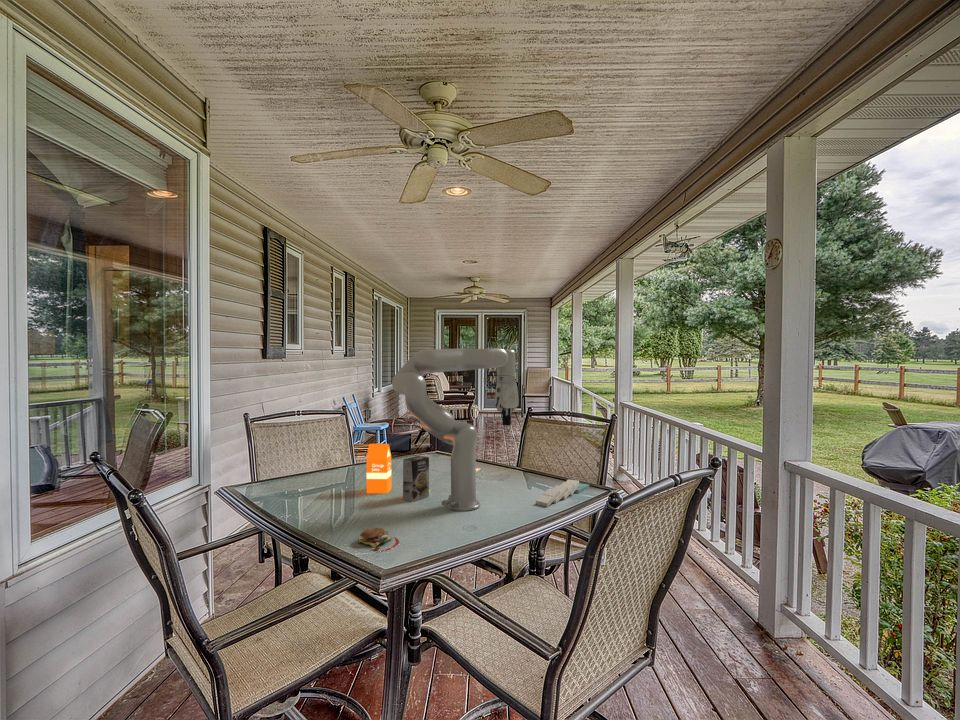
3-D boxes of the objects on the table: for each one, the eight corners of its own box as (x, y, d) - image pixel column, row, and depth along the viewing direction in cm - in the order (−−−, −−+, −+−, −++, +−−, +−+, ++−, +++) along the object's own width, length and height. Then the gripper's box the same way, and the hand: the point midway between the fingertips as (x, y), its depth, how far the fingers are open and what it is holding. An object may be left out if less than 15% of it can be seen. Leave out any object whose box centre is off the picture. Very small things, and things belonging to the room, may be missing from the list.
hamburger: (341, 548, 133) (340, 528, 133) (375, 533, 145) (375, 514, 145) (375, 558, 126) (375, 537, 126) (408, 541, 138) (408, 521, 138)
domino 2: (555, 499, 173) (567, 486, 180) (544, 497, 176) (556, 484, 184) (556, 503, 173) (568, 490, 181) (545, 500, 176) (557, 488, 184)
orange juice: (371, 488, 197) (371, 442, 197) (391, 488, 196) (391, 442, 197) (366, 493, 189) (366, 445, 189) (387, 493, 189) (387, 445, 189)
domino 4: (571, 491, 183) (578, 480, 191) (559, 490, 185) (567, 479, 193) (571, 495, 183) (579, 484, 191) (560, 494, 185) (568, 482, 194)
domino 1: (547, 503, 169) (559, 490, 176) (535, 500, 172) (548, 488, 179) (547, 507, 169) (560, 494, 176) (536, 504, 172) (549, 491, 179)
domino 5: (578, 490, 186) (589, 484, 194) (567, 488, 189) (579, 482, 197) (578, 494, 186) (589, 488, 194) (568, 491, 189) (579, 486, 197)
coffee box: (413, 502, 176) (413, 460, 177) (402, 499, 180) (402, 458, 180) (429, 496, 184) (429, 456, 184) (418, 493, 188) (418, 455, 188)
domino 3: (564, 495, 177) (574, 483, 185) (553, 493, 180) (563, 481, 188) (565, 499, 178) (575, 487, 186) (553, 497, 181) (564, 485, 189)
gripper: (501, 380, 174) (501, 427, 174) (524, 379, 185) (525, 424, 185) (487, 380, 180) (487, 426, 179) (510, 379, 190) (511, 422, 190)
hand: (506, 425), depth 182 cm, fingers closed
